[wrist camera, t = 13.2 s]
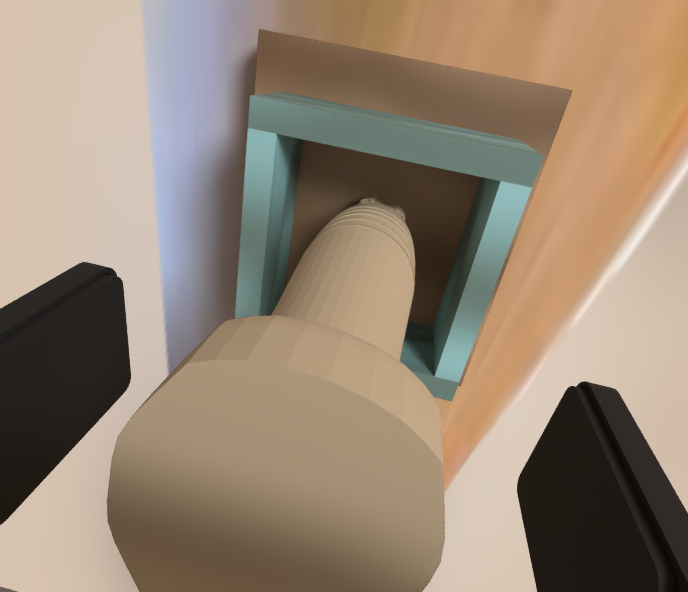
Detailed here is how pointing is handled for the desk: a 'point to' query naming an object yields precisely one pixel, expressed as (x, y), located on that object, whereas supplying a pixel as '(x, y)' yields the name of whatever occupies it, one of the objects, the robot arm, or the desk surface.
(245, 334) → the handle
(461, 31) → the desk surface
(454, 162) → the teal open box
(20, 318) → the robot arm
